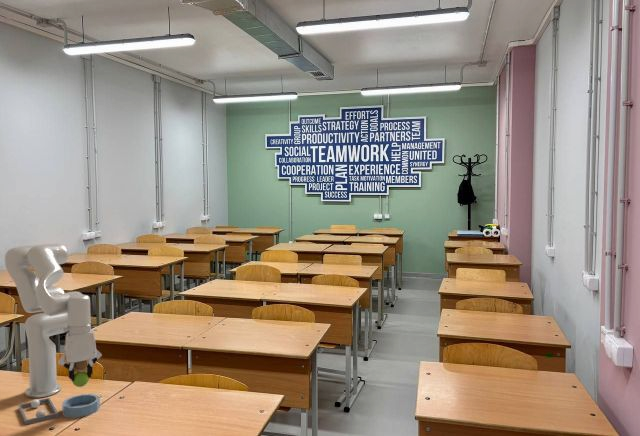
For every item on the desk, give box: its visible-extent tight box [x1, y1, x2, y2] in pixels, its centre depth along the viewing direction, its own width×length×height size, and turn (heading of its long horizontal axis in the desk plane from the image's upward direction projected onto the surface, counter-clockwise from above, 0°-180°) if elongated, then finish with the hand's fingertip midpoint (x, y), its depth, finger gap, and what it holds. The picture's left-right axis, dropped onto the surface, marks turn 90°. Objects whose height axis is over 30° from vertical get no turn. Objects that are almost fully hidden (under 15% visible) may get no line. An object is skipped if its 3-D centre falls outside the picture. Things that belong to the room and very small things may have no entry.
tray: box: [18, 397, 59, 426], centre depth 183 cm, size 16×10×2 cm, turn 38°
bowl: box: [61, 393, 101, 419], centre depth 186 cm, size 12×12×4 cm
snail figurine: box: [71, 360, 89, 388], centre depth 185 cm, size 5×6×12 cm
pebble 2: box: [35, 409, 46, 418], centre depth 179 cm, size 3×3×3 cm
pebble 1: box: [30, 398, 41, 409], centre depth 188 cm, size 3×3×3 cm
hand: (80, 377), depth 185 cm, fingers closed on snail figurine, 5 cm apart
